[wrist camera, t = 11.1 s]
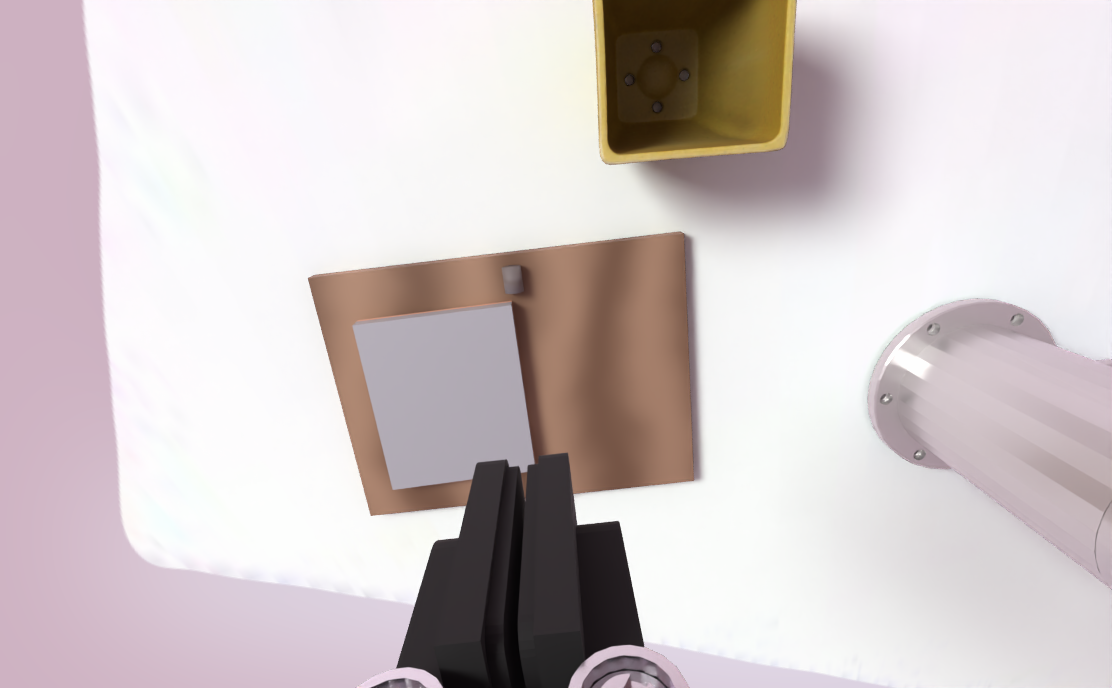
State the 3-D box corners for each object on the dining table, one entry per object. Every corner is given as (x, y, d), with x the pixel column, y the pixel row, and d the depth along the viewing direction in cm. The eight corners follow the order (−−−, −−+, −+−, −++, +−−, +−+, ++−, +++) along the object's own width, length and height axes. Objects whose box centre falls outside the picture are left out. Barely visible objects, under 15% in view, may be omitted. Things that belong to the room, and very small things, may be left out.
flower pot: (728, 153, 34) (789, 150, 25) (587, 164, 34) (601, 165, 25) (732, -11, 31) (803, -77, 22) (578, 2, 31) (590, -59, 22)
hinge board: (680, 231, 35) (688, 236, 33) (690, 473, 41) (698, 490, 39) (314, 275, 36) (299, 282, 34) (374, 507, 41) (365, 526, 39)
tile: (352, 325, 34) (357, 320, 35) (392, 490, 38) (396, 480, 39) (511, 305, 34) (511, 300, 35) (535, 470, 38) (535, 461, 39)
